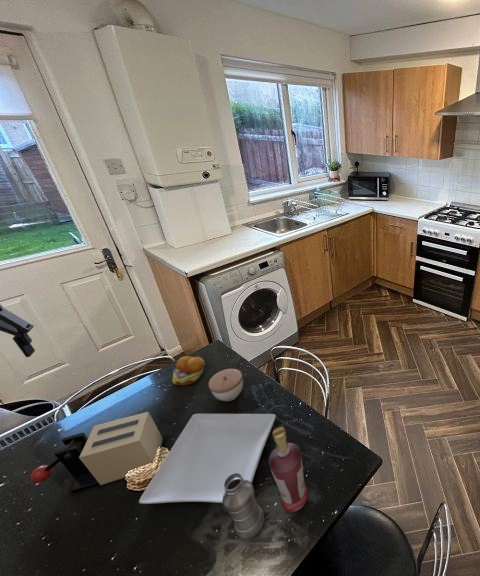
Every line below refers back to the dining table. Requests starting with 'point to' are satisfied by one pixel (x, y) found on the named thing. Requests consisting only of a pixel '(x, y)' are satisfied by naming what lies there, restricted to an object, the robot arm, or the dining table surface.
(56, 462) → the lever
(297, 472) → the liquor
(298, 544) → the dining table surface
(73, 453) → the lever bracket
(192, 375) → the cheeseburger
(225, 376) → the trinket box
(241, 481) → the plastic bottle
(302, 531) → the dining table surface
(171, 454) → the square plate
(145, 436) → the toaster
